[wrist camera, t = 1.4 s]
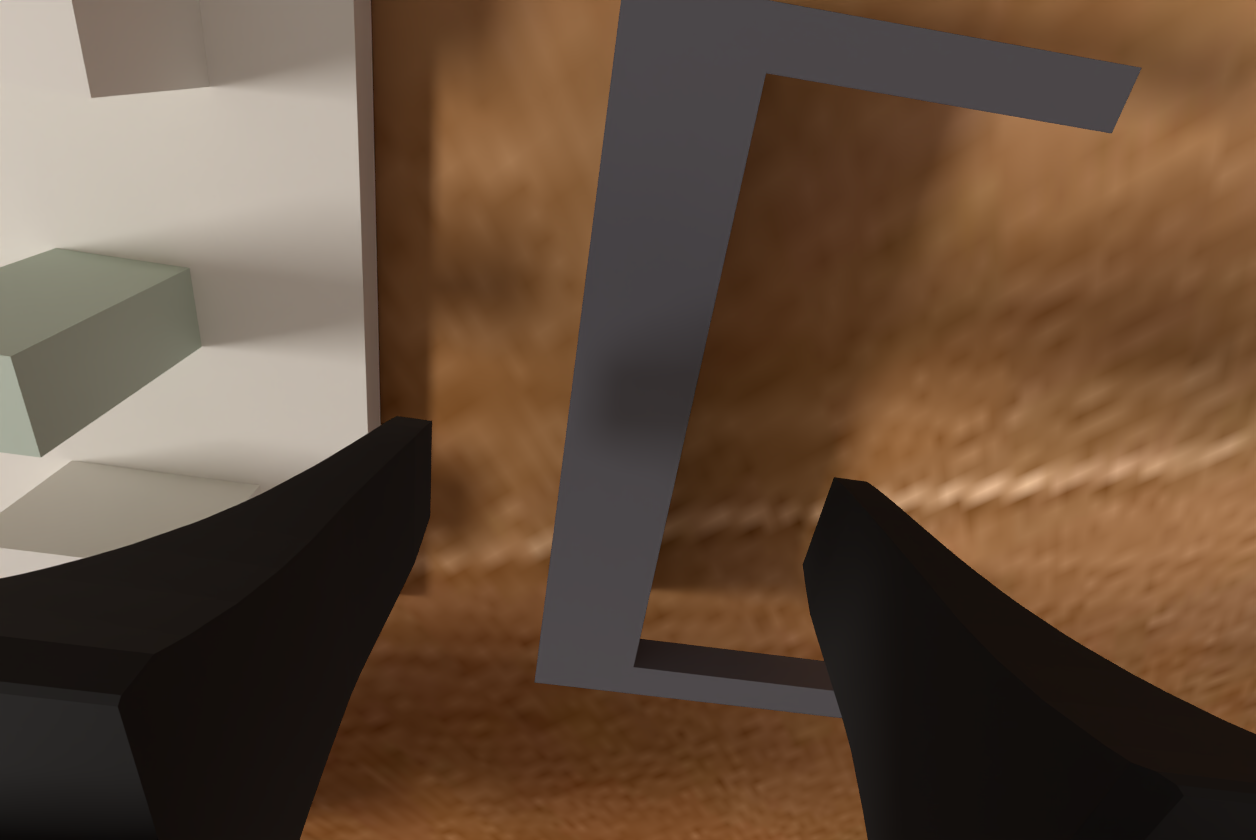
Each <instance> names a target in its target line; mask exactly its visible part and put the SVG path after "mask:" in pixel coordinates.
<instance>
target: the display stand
mask: <svg viewBox="0 0 1256 840" xmlns="http://www.w3.org/2000/svg"><path fill="white" fill-rule="evenodd" d="M380 425H381V422H380V378H379V334H378V290H377V246H376V202H375V158H374V113H373V69H372V25H371V0H0V578H5V577H10V576H14V575H19V574H24V573H28V572H32V571H36V570H40V569H45V568H49V567H52V566H56V565H60V564H64V563H68V562H72V561H75V560H79V559H83V558H87V557H90V556H94V555H97V554H101V553H104V552H108V551H111V550H115V549H118V548H121V547H125V546H128V545H131V544H134V543H137V542H140V541H143V540H146V539H148V538H151V537H154V536H157V535H160V534H163V533H166V532H169V531H171V530H174V529H177V528H180V527H183V526H186V525H189V524H192V523H194V522H197V521H200V520H202V519H205V518H207V517H210V516H212V515H214V514H217V513H219V512H221V511H224V510H226V509H229V508H231V507H233V506H236V505H238V504H240V503H242V502H245V501H247V500H249V499H251V498H253V497H255V496H257V495H260V494H262V493H264V492H266V491H268V490H270V489H272V488H273V487H275V486H277V485H279V484H281V483H283V482H285V481H287V480H288V479H290V478H292V477H294V476H296V475H298V474H300V473H302V472H303V471H305V470H307V469H309V468H311V467H313V466H315V465H316V464H318V463H320V462H322V461H323V460H325V459H327V458H328V457H330V456H332V455H333V454H335V453H337V452H338V451H340V450H342V449H343V448H345V447H347V446H348V445H350V444H352V443H353V442H355V441H356V440H358V439H360V438H361V437H363V436H364V435H366V434H368V433H369V432H371V431H372V430H374V429H376V428H377V427H379V426H380Z"/></svg>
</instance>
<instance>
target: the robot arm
mask: <svg viewBox="0 0 1256 840" xmlns="http://www.w3.org/2000/svg"><path fill="white" fill-rule="evenodd" d="M431 441H432V421H428V420H421V419H413V418H406V417H399V416H396V417H394V418H392V419H391V420H389V421H387V422H385V423H384V424H382V425H380V426H379V427H377V428H376V429H374V430H372V431H371V432H369V433H368V434H366V435H364V436H363V437H361V438H360V439H358V440H356V441H355V442H353V443H352V444H350V445H348V446H347V447H345V448H343V449H342V450H340V451H338V452H337V453H335V454H333V455H332V456H330V457H328V458H327V459H325V460H323V461H322V462H320V463H318V464H316V465H315V466H313V467H311V468H309V469H307V470H305V471H303V472H302V473H300V474H298V475H296V476H294V477H292V478H290V479H288V480H287V481H285V482H283V483H281V484H279V485H277V486H275V487H273V488H272V489H270V490H268V491H266V492H264V493H262V494H260V495H257V496H255V497H253V498H251V499H249V500H247V501H245V502H242V503H240V504H238V505H236V506H233V507H231V508H229V509H226V510H224V511H221V512H219V513H217V514H214V515H212V516H210V517H207V518H205V519H202V520H200V521H197V522H194V523H192V524H189V525H186V526H183V527H180V528H177V529H174V530H171V531H169V532H166V533H163V534H160V535H157V536H154V537H151V538H148V539H146V540H143V541H140V542H137V543H134V544H131V545H128V546H125V547H121V548H118V549H115V550H111V551H108V552H104V553H101V554H97V555H94V556H90V557H87V558H83V559H79V560H75V561H72V562H68V563H64V564H60V565H56V566H52V567H49V568H45V569H40V570H36V571H32V572H28V573H24V574H19V575H14V576H10V577H5V578H0V840H300V837H301V834H302V831H303V828H304V825H305V822H306V819H307V816H308V813H309V810H310V807H311V804H312V801H313V798H314V796H315V793H316V790H317V787H318V784H319V781H320V778H321V776H322V773H323V770H324V767H325V764H326V761H327V759H328V756H329V753H330V750H331V747H332V745H333V742H334V739H335V737H336V734H337V731H338V728H339V726H340V723H341V720H342V718H343V715H344V712H345V710H346V707H347V704H348V701H349V699H350V696H351V694H352V691H353V689H354V687H355V684H356V682H357V680H358V678H359V675H360V673H361V671H362V669H363V667H364V665H365V663H366V661H367V659H368V657H369V655H370V653H371V651H372V649H373V647H374V644H375V642H376V640H377V638H378V636H379V634H380V632H381V630H382V628H383V626H384V624H385V622H386V620H387V618H388V616H389V614H390V612H391V610H392V608H393V606H394V604H395V602H396V600H397V598H398V596H399V594H400V592H401V590H402V588H403V586H404V584H405V582H406V580H407V578H408V576H409V574H410V571H411V569H412V567H413V565H414V563H415V560H416V557H417V554H418V551H419V548H420V546H421V543H422V540H423V536H424V533H425V530H426V527H427V524H428V521H429V518H430V499H431ZM803 570H804V577H805V584H806V592H807V598H808V603H809V609H810V615H811V618H812V622H813V625H814V628H815V632H816V635H817V638H818V642H819V645H820V648H821V652H822V655H823V658H824V661H825V665H826V668H827V671H828V674H829V677H830V681H831V684H832V687H833V690H834V693H835V697H836V700H837V703H838V706H839V710H840V713H841V716H842V719H843V722H844V726H845V729H846V733H847V737H848V741H849V745H850V748H851V752H852V757H853V762H854V767H855V772H856V777H857V783H858V788H859V793H860V798H861V803H862V808H863V814H864V820H865V826H866V831H867V837H868V840H1256V734H1254V733H1252V732H1249V731H1247V730H1245V729H1243V728H1240V727H1238V726H1236V725H1233V724H1231V723H1229V722H1227V721H1224V720H1222V719H1220V718H1218V717H1216V716H1214V715H1212V714H1210V713H1208V712H1206V711H1204V710H1202V709H1200V708H1198V707H1196V706H1194V705H1192V704H1190V703H1187V702H1185V701H1183V700H1181V699H1179V698H1177V697H1175V696H1173V695H1171V694H1169V693H1167V692H1165V691H1163V690H1161V689H1160V688H1158V687H1156V686H1154V685H1152V684H1150V683H1148V682H1146V681H1144V680H1143V679H1141V678H1139V677H1137V676H1135V675H1133V674H1131V673H1130V672H1128V671H1126V670H1124V669H1123V668H1121V667H1119V666H1117V665H1116V664H1114V663H1112V662H1110V661H1109V660H1107V659H1105V658H1103V657H1102V656H1100V655H1098V654H1096V653H1095V652H1093V651H1091V650H1089V649H1088V648H1086V647H1084V646H1083V645H1081V644H1079V643H1078V642H1076V641H1075V640H1073V639H1071V638H1070V637H1068V636H1066V635H1065V634H1063V633H1062V632H1060V631H1059V630H1057V629H1056V628H1054V627H1053V626H1051V625H1050V624H1048V623H1047V622H1045V621H1044V620H1042V619H1041V618H1039V617H1038V616H1036V615H1035V614H1033V613H1032V612H1030V611H1029V610H1027V609H1026V608H1024V607H1023V606H1021V605H1020V604H1018V603H1017V602H1016V601H1014V600H1013V599H1011V598H1010V597H1009V596H1007V595H1006V594H1005V593H1003V592H1002V591H1001V590H999V589H998V588H997V587H995V586H994V585H993V584H991V583H990V582H989V581H987V580H986V579H985V578H984V577H982V576H981V575H980V574H978V573H977V572H976V571H974V570H973V569H972V568H971V567H969V566H968V565H967V564H966V563H964V562H963V561H962V560H961V559H960V558H958V557H957V556H956V555H955V554H953V553H952V552H951V551H950V550H949V549H947V548H946V547H945V546H944V545H943V544H941V543H940V542H939V541H938V540H937V539H936V538H934V537H933V536H932V535H931V534H930V533H929V532H927V531H926V530H925V529H924V528H923V527H922V526H920V525H919V524H918V523H917V522H916V521H915V520H913V519H912V518H911V517H910V516H909V515H908V514H907V513H905V512H904V511H903V510H902V509H901V508H900V507H898V506H897V505H896V504H895V503H894V502H892V501H891V500H890V499H889V498H888V497H886V496H885V495H884V494H883V493H881V492H880V491H879V490H878V489H876V488H875V487H874V486H872V485H871V484H869V483H868V482H864V481H857V480H850V479H843V478H836V477H834V479H833V482H832V484H831V487H830V490H829V493H828V496H827V498H826V501H825V504H824V507H823V510H822V512H821V515H820V518H819V521H818V524H817V526H816V529H815V532H814V535H813V538H812V540H811V543H810V546H809V549H808V552H807V554H806V557H805V560H804V563H803Z"/></svg>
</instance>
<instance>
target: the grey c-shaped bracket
mask: <svg viewBox="0 0 1256 840" xmlns="http://www.w3.org/2000/svg"><path fill="white" fill-rule="evenodd" d="M1140 70H1141V68H1140V67H1134V66H1128V65H1123V64H1117V63H1112V62H1106V61H1101V60H1095V59H1090V58H1084V57H1079V56H1073V55H1068V54H1062V53H1057V52H1051V51H1046V50H1040V49H1035V48H1029V47H1024V46H1018V45H1013V44H1007V43H1001V42H996V41H990V40H985V39H979V38H974V37H968V36H963V35H957V34H952V33H946V32H941V31H935V30H930V29H924V28H919V27H913V26H908V25H902V24H897V23H891V22H886V21H880V20H875V19H869V18H863V17H858V16H852V15H847V14H841V13H836V12H830V11H825V10H819V9H814V8H808V7H803V6H797V5H792V4H786V3H781V2H775V1H770V0H621V6H620V14H619V21H618V29H617V37H616V45H615V53H614V61H613V69H612V77H611V84H610V92H609V100H608V108H607V116H606V124H605V132H604V140H603V148H602V155H601V163H600V171H599V179H598V187H597V195H596V203H595V211H594V218H593V226H592V234H591V242H590V250H589V258H588V266H587V274H586V282H585V289H584V297H583V305H582V313H581V321H580V329H579V337H578V345H577V352H576V360H575V368H574V376H573V384H572V392H571V400H570V408H569V415H568V423H567V431H566V439H565V447H564V455H563V463H562V471H561V479H560V486H559V494H558V502H557V510H556V518H555V526H554V534H553V542H552V549H551V557H550V565H549V573H548V581H547V589H546V597H545V605H544V612H543V620H542V628H541V636H540V644H539V652H538V660H537V668H536V676H535V682H536V683H544V684H553V685H561V686H570V687H579V688H587V689H596V690H605V691H613V692H622V693H630V694H639V695H648V696H656V697H665V698H674V699H682V700H691V701H699V702H708V703H717V704H725V705H734V706H743V707H751V708H760V709H768V710H777V711H786V712H794V713H803V714H812V715H820V716H829V717H837V718H842V716H841V713H840V710H839V706H838V703H837V700H836V697H835V693H834V690H833V687H832V684H831V681H830V677H829V674H828V671H827V668H826V665H825V661H818V660H810V659H802V658H794V657H785V656H777V655H769V654H761V653H752V652H744V651H736V650H728V649H719V648H711V647H703V646H694V645H686V644H678V643H670V642H661V641H653V640H645V639H640V636H641V631H642V627H643V622H644V618H645V613H646V609H647V604H648V600H649V595H650V591H651V586H652V582H653V577H654V573H655V569H656V564H657V560H658V555H659V551H660V546H661V542H662V537H663V533H664V528H665V524H666V519H667V515H668V510H669V506H670V501H671V497H672V492H673V488H674V483H675V479H676V474H677V470H678V465H679V461H680V457H681V452H682V448H683V443H684V439H685V434H686V430H687V425H688V421H689V416H690V412H691V407H692V403H693V398H694V394H695V389H696V385H697V380H698V376H699V371H700V367H701V362H702V358H703V353H704V349H705V345H706V340H707V336H708V331H709V327H710V322H711V318H712V313H713V309H714V304H715V300H716V295H717V291H718V286H719V282H720V277H721V273H722V268H723V264H724V259H725V255H726V250H727V246H728V241H729V237H730V232H731V228H732V224H733V219H734V215H735V210H736V206H737V201H738V197H739V192H740V188H741V183H742V179H743V174H744V170H745V165H746V161H747V156H748V152H749V147H750V143H751V138H752V134H753V129H754V125H755V120H756V116H757V112H758V107H759V103H760V98H761V94H762V89H763V85H764V80H765V76H766V73H768V74H774V75H780V76H785V77H791V78H797V79H802V80H808V81H814V82H820V83H825V84H831V85H837V86H843V87H848V88H854V89H860V90H866V91H871V92H877V93H883V94H888V95H894V96H900V97H906V98H911V99H917V100H923V101H929V102H934V103H940V104H946V105H952V106H957V107H963V108H969V109H974V110H980V111H986V112H992V113H997V114H1003V115H1009V116H1015V117H1020V118H1026V119H1032V120H1038V121H1043V122H1049V123H1055V124H1060V125H1066V126H1072V127H1078V128H1083V129H1089V130H1095V131H1101V132H1106V133H1112V132H1113V129H1114V127H1115V125H1116V123H1117V121H1118V118H1119V116H1120V114H1121V112H1122V110H1123V108H1124V105H1125V103H1126V101H1127V99H1128V97H1129V94H1130V92H1131V90H1132V88H1133V86H1134V83H1135V81H1136V79H1137V77H1138V75H1139V72H1140Z"/></svg>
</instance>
